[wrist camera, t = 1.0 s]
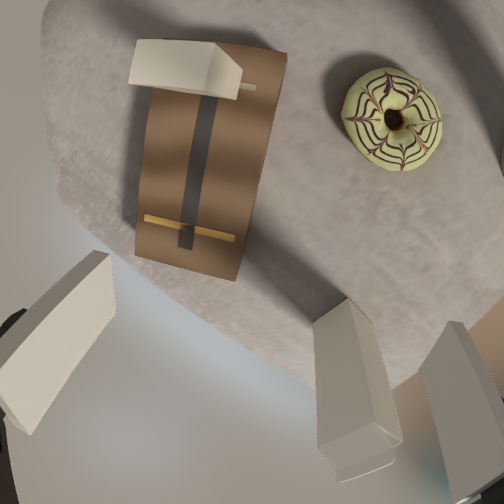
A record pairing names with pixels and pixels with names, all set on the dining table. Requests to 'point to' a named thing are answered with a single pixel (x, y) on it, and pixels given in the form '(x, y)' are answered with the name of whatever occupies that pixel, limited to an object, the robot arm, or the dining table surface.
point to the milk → (353, 395)
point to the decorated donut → (374, 128)
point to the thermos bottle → (502, 160)
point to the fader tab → (185, 67)
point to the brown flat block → (206, 167)
